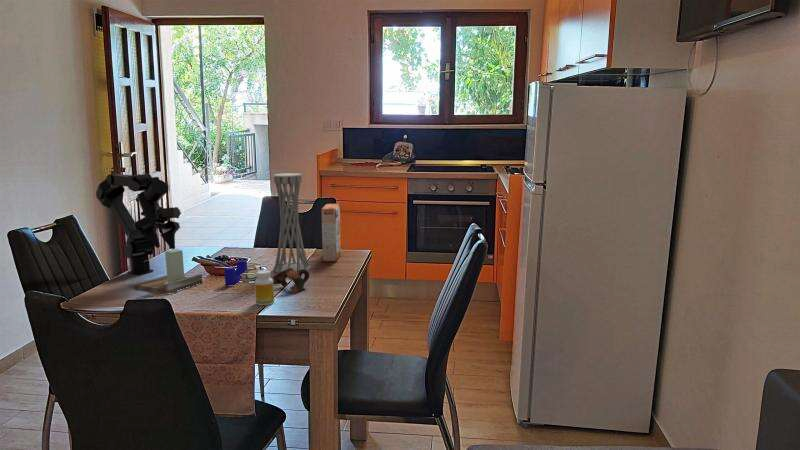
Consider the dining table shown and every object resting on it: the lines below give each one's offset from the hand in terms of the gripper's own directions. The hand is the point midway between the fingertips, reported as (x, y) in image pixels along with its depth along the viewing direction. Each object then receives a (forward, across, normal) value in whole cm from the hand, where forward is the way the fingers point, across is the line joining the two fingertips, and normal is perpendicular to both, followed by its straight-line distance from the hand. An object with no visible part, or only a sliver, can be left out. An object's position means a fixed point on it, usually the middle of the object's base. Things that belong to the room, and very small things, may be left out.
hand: (166, 248), depth 202 cm
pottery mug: (+32, 0, -36) cm, 48 cm away
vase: (+22, +23, -30) cm, 44 cm away
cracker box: (+21, +42, -41) cm, 63 cm away
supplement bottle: (+34, -16, -31) cm, 49 cm away
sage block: (+13, -4, -1) cm, 14 cm away
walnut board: (+13, -2, +2) cm, 13 cm away
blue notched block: (+20, +6, -16) cm, 26 cm away
